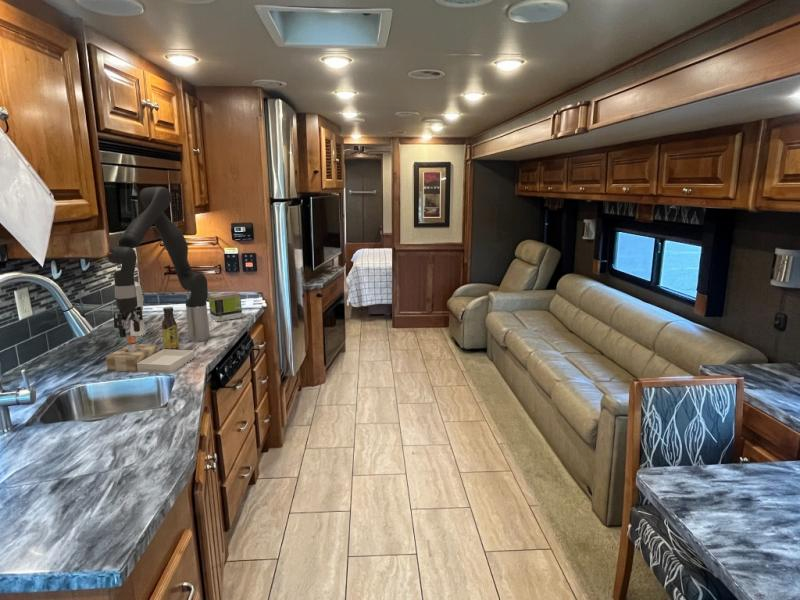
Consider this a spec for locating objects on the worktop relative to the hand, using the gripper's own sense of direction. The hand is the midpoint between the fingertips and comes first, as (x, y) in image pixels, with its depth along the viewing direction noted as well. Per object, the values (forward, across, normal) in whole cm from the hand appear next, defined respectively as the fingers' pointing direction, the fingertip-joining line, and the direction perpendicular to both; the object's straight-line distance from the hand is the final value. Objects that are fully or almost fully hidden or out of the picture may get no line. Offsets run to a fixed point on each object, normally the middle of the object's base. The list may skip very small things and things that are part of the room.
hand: (130, 334), depth 196 cm
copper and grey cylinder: (+13, 0, 0) cm, 13 cm away
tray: (+13, -1, +14) cm, 19 cm away
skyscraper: (+13, -39, -25) cm, 48 cm away
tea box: (+12, -75, +4) cm, 76 cm away
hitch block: (+13, 0, 0) cm, 13 cm away
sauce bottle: (+13, -19, +5) cm, 24 cm away
